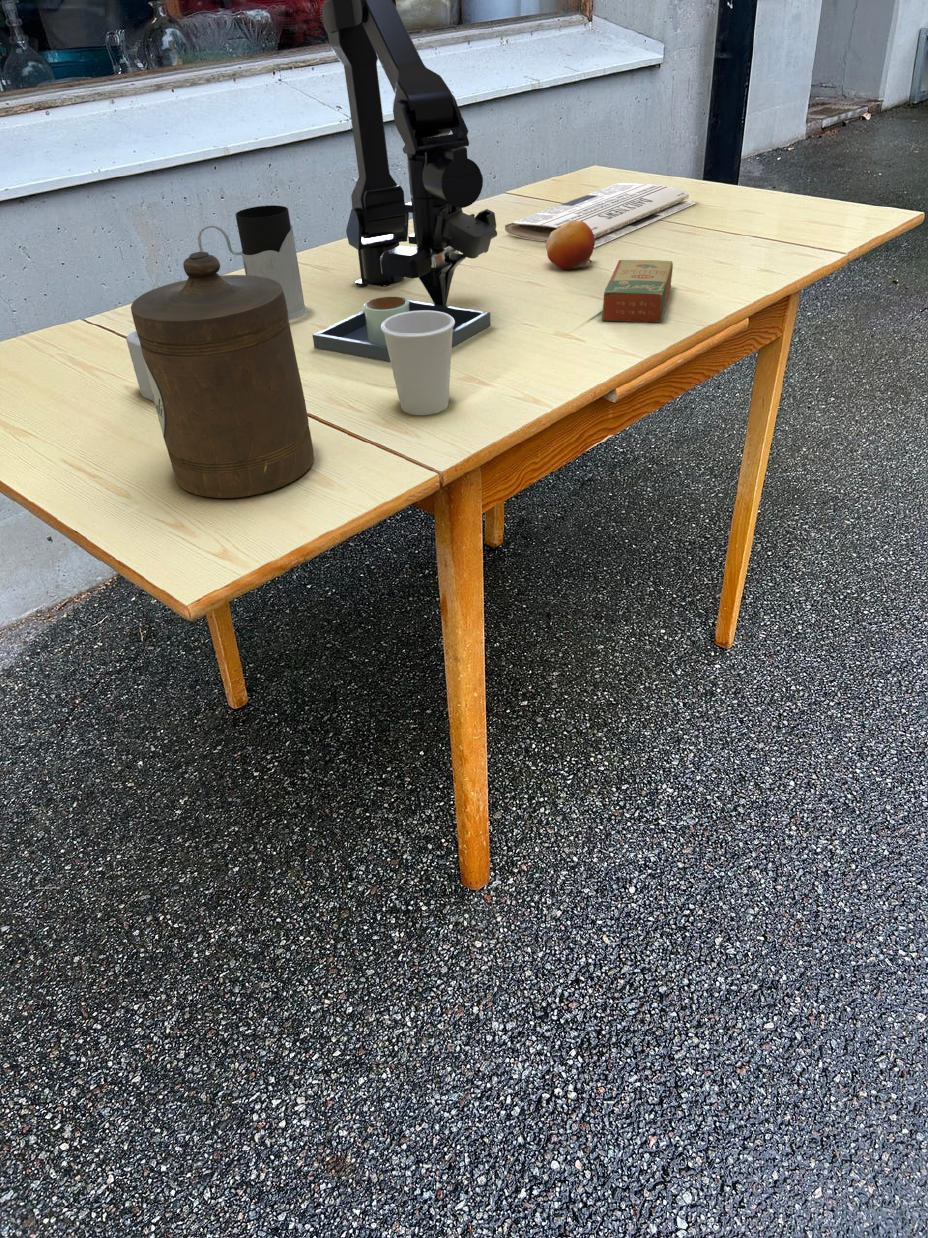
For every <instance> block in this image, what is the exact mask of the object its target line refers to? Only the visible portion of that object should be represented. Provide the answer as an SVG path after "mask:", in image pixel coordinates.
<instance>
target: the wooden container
mask: <svg viewBox="0 0 928 1238" xmlns="http://www.w3.org/2000/svg"><path fill="white" fill-rule="evenodd" d="M182 267H183V270H184V273H185V275H186V276H187V279H185V280H180V281H175V282H172V283H168V284H165V285H161V286H158V287H156V288H153V289H150V290H148V291H146V292H144V293H143V294H141V295H139V296H137V298H135V300H133V301H132V303H131V305H130V311H131V316H132V321H133V324H134V328H135V331H137V335H138V338H139V341H140V345H141V350H142V354H143V358H144V362H145V366H146V370H147V374H148V378H149V382H150V386H151V390H152V394H153V399H154V401H153V402H154V407H155V410H156V414H157V419H158V422H159V425H160V430H161V434H162V437H163V440H164V445H165V447H166V450H167V453H168V457H169V461H170V464H171V468H172V471H173V474H174V478H175V480H176V482H177V484H178V485H179V487H181V489H183V490H185V492H188V493H190V494H194V495H197V496H201V497H206V498H215V499H233V498H243V497H244V498H245V497H249V496H256V495H260V494H263V493H268V492H271V491H274V490H277V489H279V488H282V487H284V486H286V485H288V484H290V483H292V482H294V481H296V480H297V479H299V478H300V477H302V476H303V475H304V474H305V473H306V472H307V471H309V470H310V468H311V467H312V465H313V463H314V460H315V451H314V446H313V439H312V434H311V433H312V432H311V430H310V425H309V424H310V423H309V415H308V411H307V405H306V399H305V394H304V388H303V384H302V380H301V375H300V369H299V366H298V360H297V356H296V355H297V354H296V350H295V345H294V340H293V334H292V329H291V324H290V321H289V318H288V310H287V304H286V299H285V295H284V291H283V288H282V286H281V284H280V283H278V282H277V281H275V280H272V279H269V278H265V277H259V276H251V275H246V274H228V275H227V274H224V275H220V274H219V273H218V272H219V271H220V269H221V263H220V260H219V259H218V258H217V256H215V255H213V254H210V253H209V252H207V251H203V252H200V251H196V252H193V253H192V252H191V254H189V255H188V257H187V258H185V259H184V261H183V265H182Z"/></svg>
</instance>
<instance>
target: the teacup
mask: <svg viewBox="0 0 928 1238" xmlns="http://www.w3.org/2000/svg"><path fill="white" fill-rule="evenodd" d="M408 300H409V299H407V298H405V297H402V296H382V297H381V296H380V297H376V298H373V299H370V300H367V301H366V302H365V303H364V304H363V310H365V319H366V327H367V335H368V342H369V343H375V344H380V345H386V346H387V344H386V340H385V336H384V332H383V331H382V330H381V324H382V323H383V322H384V321H385V320H386V319H387V318H389V317H391V316H393V315H396V314H400V313H404V312H410V309H409V301H410V300H409V301H408Z"/></svg>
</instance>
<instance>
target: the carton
mask: <svg viewBox="0 0 928 1238" xmlns="http://www.w3.org/2000/svg"><path fill="white" fill-rule="evenodd" d="M673 268H674V263H673V261H672V260H661V259H660V260H657V259H618V261H617V263H616V266H615V268H614V270H613V272H612V274H611V276H610V279H609V280H608V283H607V285H606V287H605V289H604V291H603V303H602V314H601V319H602V321H606V322H607V321H608V322H610V321H612V322H628V323H629V322H630V323H632V322H633V323H661V322H662V321H663V319H664V315H665V311H666V308H667V302H668V299H669V294H670V292H671V288H672V278H673V270H674V269H673Z"/></svg>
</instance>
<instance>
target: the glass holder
mask: <svg viewBox="0 0 928 1238" xmlns="http://www.w3.org/2000/svg"><path fill="white" fill-rule="evenodd" d="M234 216H235V221H236V226H237V231H238V235H239V242H240V247H241V251H234V250H233V249H232V245H231V240H230V238H229V236H228V233H227V232H226V230H224V228H222V227H220V226H219V225H217V224H207V225H205V226H203V227H202V228H201V229H200V230H199V233H198V236H197V242H198V248H199V249H198V250H199V252H204V249H203V246H202V233H203V232H204V231H205V230H207V229H210V228H213V229H216V230H218V231H219V232H220V233H221V234H222V235H223V237H224V239H225V241H226V244H227V248H228V251H229V252H230V253H231V254H232V255H234V256H241V257H242V263H243V268H244V275H251V276H259V277H265V278H269V279H272V280H275V281H277V282H278V283H280V284H281V286H282V288H283V291H284V295H285V299H286V304H287V310H288V318H289V322H290V321H292V320H296V319H299V318H301V317H303V316H304V315H306V314H307V313H309V310H308V308H307V307H306V304H305V298H304V291H303V285H302V278H301V273H300V272H301V271H300V267H299V260H298V254H297V248H296V247H297V246H296V242H295V236H294V229H293V225H292V224H291V219H290V217H291V216H290V211H289V208H288V207H287V206H285V205H274V204H273V205H271V204H269V205H258V206H251V207H247V208H243V209H241V210H239V211H237V212H235V215H234Z"/></svg>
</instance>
